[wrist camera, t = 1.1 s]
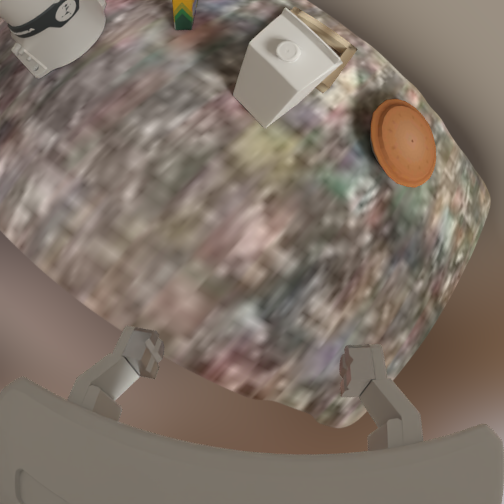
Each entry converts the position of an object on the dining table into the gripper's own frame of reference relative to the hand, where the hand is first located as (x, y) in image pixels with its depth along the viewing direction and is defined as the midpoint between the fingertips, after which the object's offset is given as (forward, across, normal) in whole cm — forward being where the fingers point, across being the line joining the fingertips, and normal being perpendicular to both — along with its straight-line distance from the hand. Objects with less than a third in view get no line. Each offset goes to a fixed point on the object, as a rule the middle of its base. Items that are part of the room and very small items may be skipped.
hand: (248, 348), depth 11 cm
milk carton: (+36, +2, -5) cm, 37 cm away
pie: (+40, -20, +2) cm, 45 cm away
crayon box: (+40, +15, -22) cm, 48 cm away
